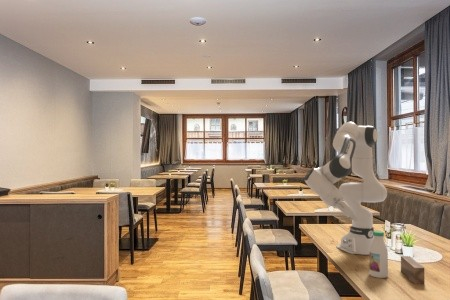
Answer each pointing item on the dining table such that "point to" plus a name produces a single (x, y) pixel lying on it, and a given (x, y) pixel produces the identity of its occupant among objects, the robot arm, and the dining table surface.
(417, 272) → the walnut block
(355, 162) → the robot arm
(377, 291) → the dining table surface
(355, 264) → the dining table surface
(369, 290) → the dining table surface
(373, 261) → the milk bottle
